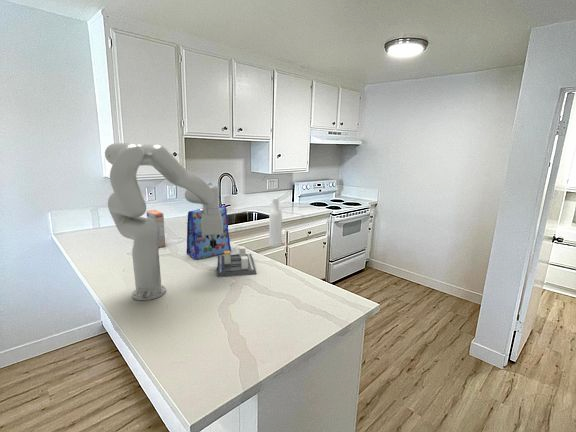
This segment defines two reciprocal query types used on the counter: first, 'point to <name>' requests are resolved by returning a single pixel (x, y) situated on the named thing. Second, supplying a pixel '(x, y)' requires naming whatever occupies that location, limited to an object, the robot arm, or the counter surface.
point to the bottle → (275, 225)
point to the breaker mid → (227, 257)
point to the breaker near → (244, 262)
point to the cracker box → (159, 220)
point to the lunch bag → (201, 245)
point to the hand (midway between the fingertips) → (213, 247)
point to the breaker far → (242, 251)
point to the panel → (234, 266)
